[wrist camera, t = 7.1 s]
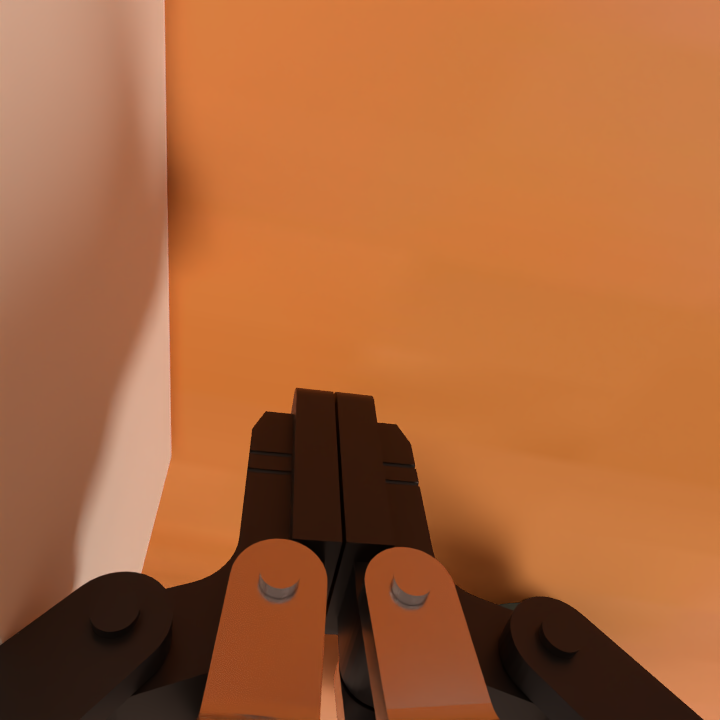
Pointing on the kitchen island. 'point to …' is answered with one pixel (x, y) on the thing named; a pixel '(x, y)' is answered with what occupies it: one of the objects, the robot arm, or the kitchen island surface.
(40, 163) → the cream flat slab
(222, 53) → the kitchen island surface
